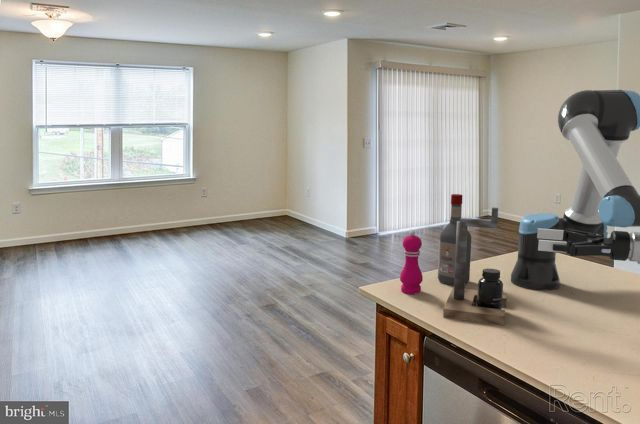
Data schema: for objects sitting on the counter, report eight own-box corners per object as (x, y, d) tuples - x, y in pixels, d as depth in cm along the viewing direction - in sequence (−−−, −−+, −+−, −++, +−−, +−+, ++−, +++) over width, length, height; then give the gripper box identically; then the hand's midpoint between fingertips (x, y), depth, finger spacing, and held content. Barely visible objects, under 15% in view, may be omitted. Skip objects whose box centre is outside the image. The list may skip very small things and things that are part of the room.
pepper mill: (422, 295, 158) (424, 233, 155) (399, 294, 159) (400, 232, 156) (422, 288, 165) (424, 228, 162) (400, 287, 166) (401, 228, 163)
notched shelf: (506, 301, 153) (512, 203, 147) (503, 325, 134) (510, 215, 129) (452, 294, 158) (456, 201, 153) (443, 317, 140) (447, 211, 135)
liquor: (458, 287, 166) (461, 197, 161) (434, 281, 172) (437, 194, 167) (472, 281, 172) (476, 194, 167) (448, 275, 179) (452, 192, 173)
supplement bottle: (498, 316, 140) (500, 275, 138) (473, 312, 144) (475, 271, 142) (503, 309, 146) (506, 269, 144) (480, 304, 150) (482, 266, 148)
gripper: (636, 275, 117) (537, 265, 125) (618, 248, 140) (536, 241, 148) (640, 244, 116) (540, 235, 124) (621, 222, 139) (538, 216, 146)
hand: (537, 238), depth 136 cm, fingers open, 13 cm apart
